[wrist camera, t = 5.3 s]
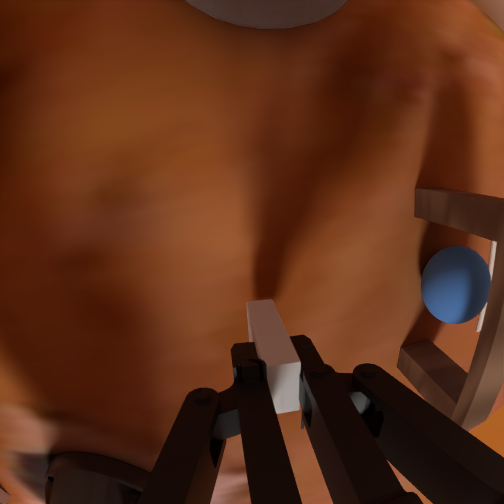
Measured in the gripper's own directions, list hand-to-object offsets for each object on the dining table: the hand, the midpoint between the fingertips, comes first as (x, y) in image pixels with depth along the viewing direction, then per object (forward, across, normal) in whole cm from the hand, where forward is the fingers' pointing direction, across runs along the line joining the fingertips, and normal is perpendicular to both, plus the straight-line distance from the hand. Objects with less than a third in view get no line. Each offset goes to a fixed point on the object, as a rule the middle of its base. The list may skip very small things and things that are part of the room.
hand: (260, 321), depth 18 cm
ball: (-1, -14, -1) cm, 14 cm away
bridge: (+2, -13, 0) cm, 13 cm away
